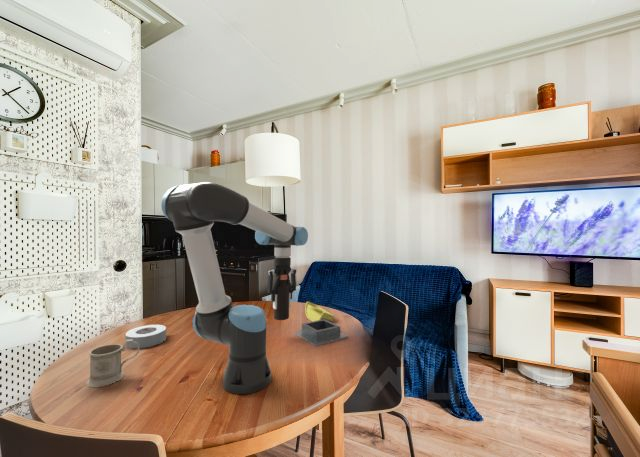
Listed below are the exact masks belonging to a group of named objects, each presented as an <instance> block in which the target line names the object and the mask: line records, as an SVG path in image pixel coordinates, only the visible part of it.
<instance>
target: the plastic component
mask: <svg viewBox="0 0 640 457" xmlns="http://www.w3.org/2000/svg"><path fill="white" fill-rule="evenodd" d="M304 310H305V311H304V313H305V317H306V318H307V319H308V320H309V321H310V322H313V321H318V320H322V319H325V320H327V321H329V322H333V321H334V318H335V315H334V314H332V313H331V312H329V311H327V310H326V309H324V308H322V307H321V306H319V305H317V304H315V303H312V301H306V302H305V308H304Z"/></svg>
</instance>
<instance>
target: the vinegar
mask: <svg viewBox="0 0 640 457" xmlns="http://www.w3.org/2000/svg"><path fill="white" fill-rule="evenodd" d="M277 277H278V276H277ZM276 294H277V309H274V308H273V318H274V320H276V321H286V320H289V318H290V307H289V284H288V283H287V275H281V278H280V280H279V284H278V286H277V290H276Z"/></svg>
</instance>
